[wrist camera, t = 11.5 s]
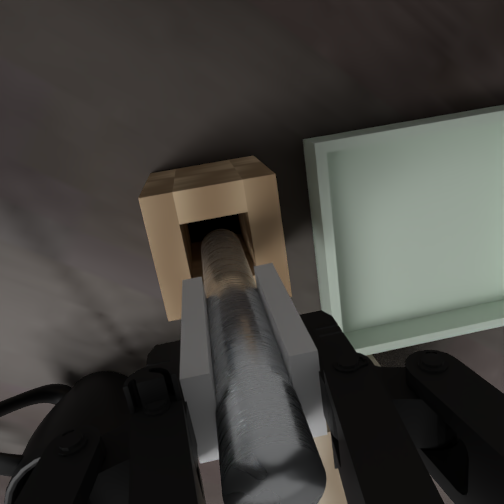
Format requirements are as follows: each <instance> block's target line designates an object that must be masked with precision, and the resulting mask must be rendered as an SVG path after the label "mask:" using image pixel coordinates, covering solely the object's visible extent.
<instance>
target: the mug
mask: <svg viewBox="0 0 504 504" xmlns="http://www.w3.org/2000/svg"><path fill="white" fill-rule="evenodd" d="M127 379H128V377H127V376H125V375H122V374H119V373H116V372H108V371H107V372H97V373H93V374H90V375H88V376H86V377H84V378H83V379H81V380H80V381H78V382H77V384H76V385H75V386H74V387H73V388H71V387H69V386H67V385H63V384H50V385H45V386H41V387H38V388H35V389H32V390H29V391H27V392H24V393H22V394H19V395H16V396H14V397H11V398H9V399H6V400H4V401H1V402H0V417H2V416H4V415H6V414H8V413H11V412H13V411H16V410H18V409H21V408H23V407H26V406H30V405H33V404H38V403H52V404H55V406H54V407H53V409H52V410H51V411H50V412H49V413H48V414H47V416H46V417H45V418H44V419H43V421H42V422H41V423H40V425H39V426H38V427H37V429H36V430H35V432H34V434H33V435H32V437H31V438H30V440H29V442H28V444H27V446H26V448H25V450H24V452H23V454H22V455H16V454H7V453H1V452H0V475H4V476H12V478H11V480H10V482H9V484H8V487H7V489H6V494H5V501H4V504H14V502H15V501H16V499H17V497H18V495H19V494H20V492H21V490H22V488H23V487H24V485H25V483H26V482H27V480H28V478H29V476H30V475H31V473H32V471H33V469H34V468H35V466H36V464H37V462H38V461H39V459H40V457H41V455H42V454H43V452H44V450H45V448H46V447H47V446H48V445H49V443H50V442H51V441H52V440H53V439H54V438H56V437H57V436H58V435H59V434H61V433H62V432H64V431H66V430H68V429H71V428H73V427H77V426H81V425H92V426H94V427H96V428H98V430H99V432H100V434H101V435H102V434H104V433H106V432H108V431H111V430H113V429H115V428H117V427H119V426H121V425H123V424H124V423H126V422H127V421H128V420H130V419H131V414H130V410H129V407H128V404H127V400H126V397H125V394H124V390H123V385H124V383H125V381H126V380H127Z"/></svg>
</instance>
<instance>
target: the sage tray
mask: <svg viewBox="0 0 504 504" xmlns="http://www.w3.org/2000/svg"><path fill="white" fill-rule="evenodd" d="M303 148H304V158H305V167H306V176H307V185H308V194H309V203H310V212H311V221H312V230H313V239H314V249H315V258H316V267H317V276H318V285H319V294H320V303H321V310H322V311H324V312H326V313H328V314H329V315H331V316H333V318H334V319H335V321H336V322H337V324H338V326H339V327H340V328H341V330H342V332H343V333H344V334H345V336H346V337H347V339H348V340H349V342H350V343H351V345H352V346H353V348H354V349H355V351H356V352H357V353H361V354H363V355H365V356H366V355H371V354H375V353H380V352H385V351H389V350H394V349H399V348H403V347H408V346H412V345H417V344H422V343H426V342H431V341H436V340H440V339H445V338H450V337H454V336H459V335H463V334H468V333H473V332H477V331H482V330H487V329H491V328H496V327H501V326H504V105H499V106H493V107H487V108H481V109H475V110H470V111H464V112H458V113H452V114H446V115H441V116H435V117H429V118H423V119H418V120H412V121H406V122H400V123H394V124H389V125H383V126H377V127H371V128H365V129H360V130H354V131H348V132H342V133H337V134H331V135H325V136H319V137H313V138H308V139H303Z"/></svg>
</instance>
